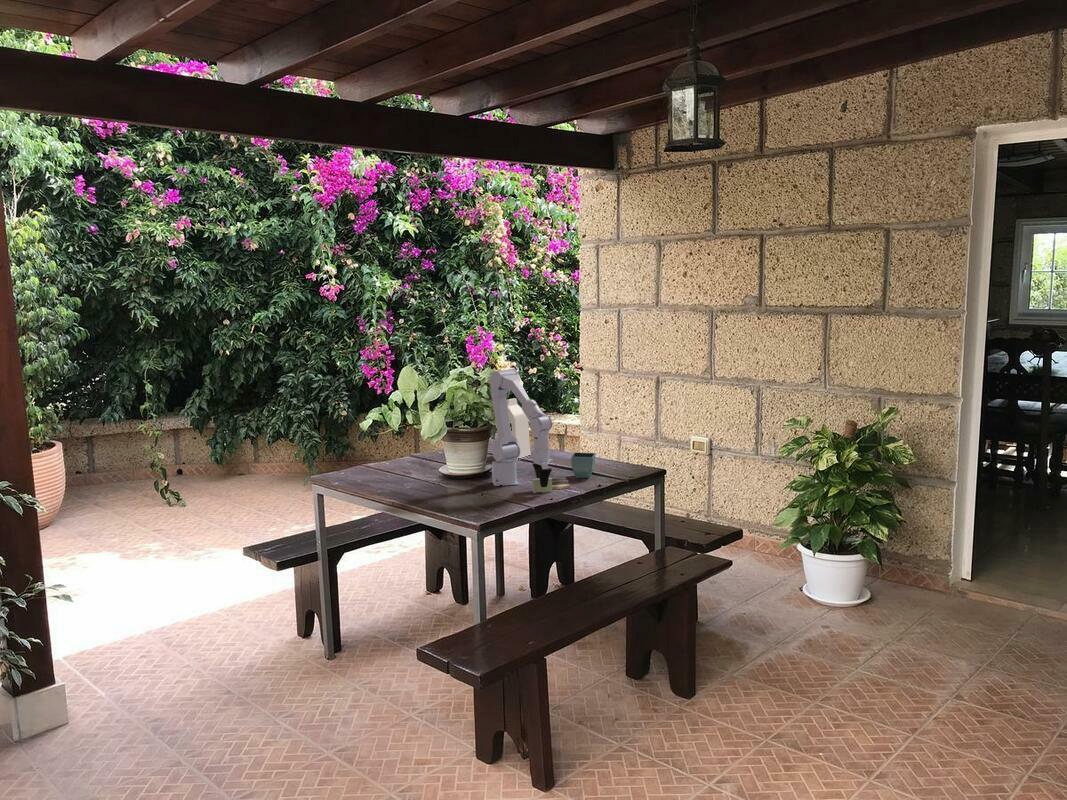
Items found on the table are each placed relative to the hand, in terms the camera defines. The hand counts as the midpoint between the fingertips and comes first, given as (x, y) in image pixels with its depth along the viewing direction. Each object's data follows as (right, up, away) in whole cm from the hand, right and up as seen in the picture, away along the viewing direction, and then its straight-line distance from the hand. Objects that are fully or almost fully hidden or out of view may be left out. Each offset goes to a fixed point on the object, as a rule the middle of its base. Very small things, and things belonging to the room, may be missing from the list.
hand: (542, 484), depth 319 cm
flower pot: (+17, +1, +23) cm, 29 cm away
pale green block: (0, -3, 0) cm, 3 cm away
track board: (+5, -1, +10) cm, 11 cm away
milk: (-12, +6, +67) cm, 69 cm away
